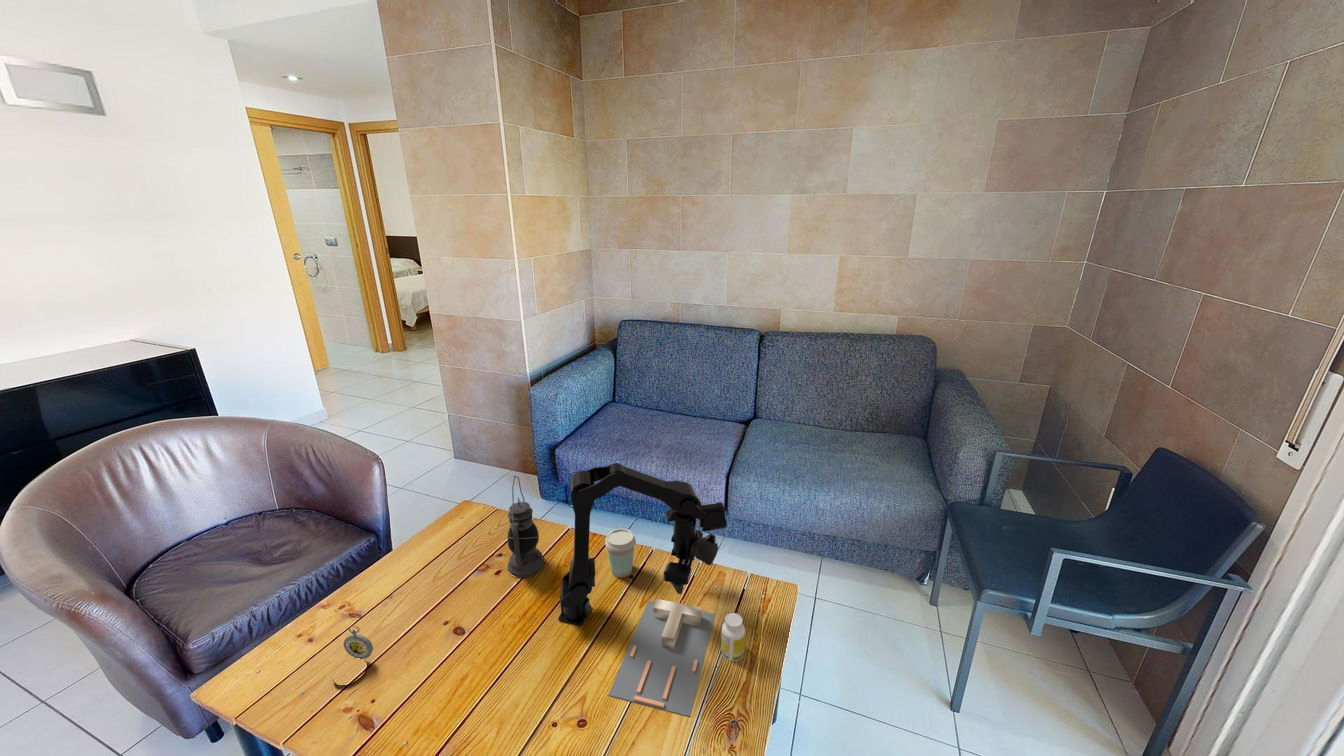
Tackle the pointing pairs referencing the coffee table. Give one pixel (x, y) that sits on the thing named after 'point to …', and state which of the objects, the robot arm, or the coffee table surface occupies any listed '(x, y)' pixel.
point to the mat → (663, 665)
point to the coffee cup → (620, 551)
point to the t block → (675, 619)
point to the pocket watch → (358, 645)
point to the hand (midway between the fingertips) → (684, 581)
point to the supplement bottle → (733, 637)
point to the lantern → (523, 540)
